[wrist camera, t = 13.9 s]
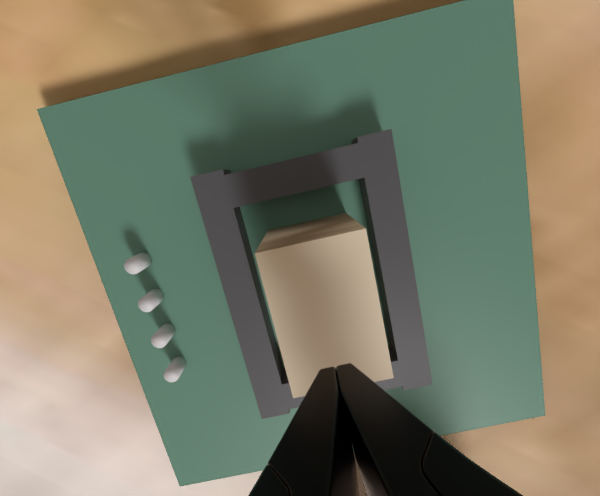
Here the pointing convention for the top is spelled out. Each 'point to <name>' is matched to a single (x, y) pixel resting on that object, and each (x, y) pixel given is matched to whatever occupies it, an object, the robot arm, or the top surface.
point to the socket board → (310, 206)
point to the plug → (323, 299)
